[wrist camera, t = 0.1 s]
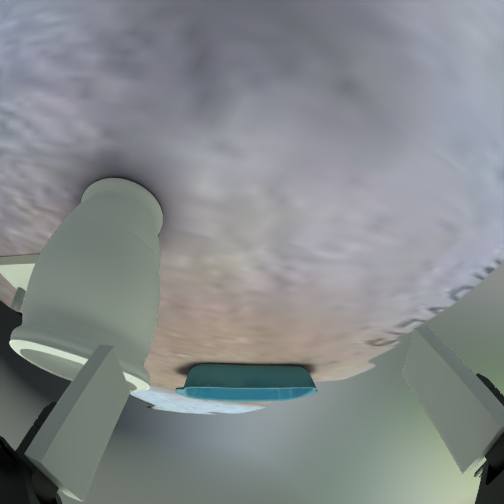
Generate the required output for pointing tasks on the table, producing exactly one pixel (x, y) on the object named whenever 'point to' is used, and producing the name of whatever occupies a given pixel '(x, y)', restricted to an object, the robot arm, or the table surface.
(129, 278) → the jar
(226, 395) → the casserole dish
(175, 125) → the table surface
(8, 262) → the tray
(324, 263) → the table surface
